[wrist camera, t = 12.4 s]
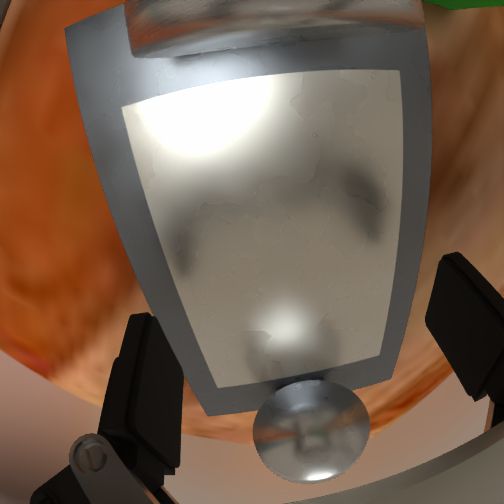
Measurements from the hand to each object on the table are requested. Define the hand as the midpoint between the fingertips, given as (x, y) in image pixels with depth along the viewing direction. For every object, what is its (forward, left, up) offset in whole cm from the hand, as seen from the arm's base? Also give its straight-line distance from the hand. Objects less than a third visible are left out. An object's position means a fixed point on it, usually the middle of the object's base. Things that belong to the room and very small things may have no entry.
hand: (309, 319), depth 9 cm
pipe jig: (0, 0, -4) cm, 4 cm away
